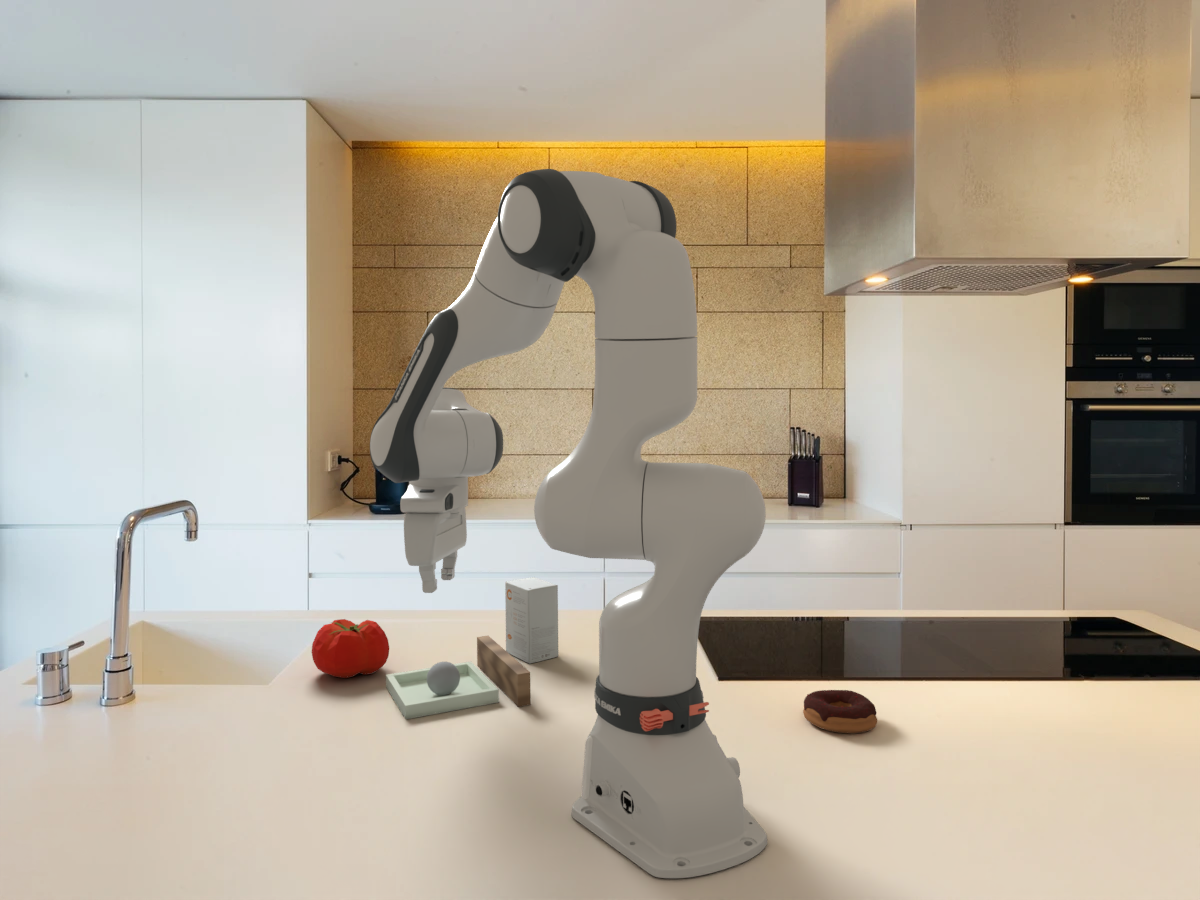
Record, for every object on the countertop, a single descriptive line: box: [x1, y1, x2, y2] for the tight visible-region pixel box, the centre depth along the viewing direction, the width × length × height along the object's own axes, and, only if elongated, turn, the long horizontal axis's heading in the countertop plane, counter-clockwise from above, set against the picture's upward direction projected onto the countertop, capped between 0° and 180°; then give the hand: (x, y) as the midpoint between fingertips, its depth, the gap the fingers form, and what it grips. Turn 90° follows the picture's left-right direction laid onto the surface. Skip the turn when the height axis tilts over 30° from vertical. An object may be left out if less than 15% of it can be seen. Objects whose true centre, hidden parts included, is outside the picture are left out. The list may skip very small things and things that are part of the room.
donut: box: [802, 689, 878, 734], centre depth 114 cm, size 10×10×4 cm
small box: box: [504, 576, 559, 664], centre depth 142 cm, size 8×6×13 cm
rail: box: [476, 635, 532, 708], centre depth 129 cm, size 20×2×5 cm, turn 26°
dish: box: [385, 660, 500, 720], centre depth 124 cm, size 14×14×2 cm
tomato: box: [311, 618, 390, 679], centre depth 134 cm, size 13×12×8 cm
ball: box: [427, 661, 460, 695], centre depth 123 cm, size 5×5×5 cm
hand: (439, 585), depth 123 cm, fingers open, 8 cm apart
